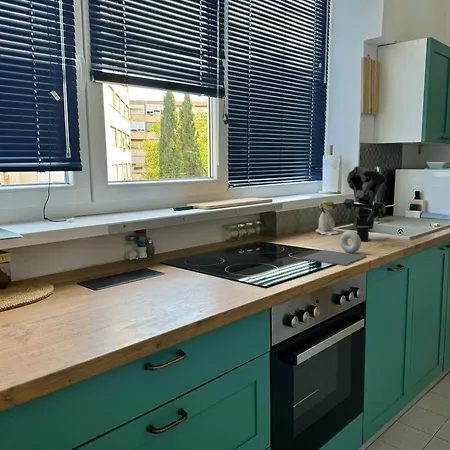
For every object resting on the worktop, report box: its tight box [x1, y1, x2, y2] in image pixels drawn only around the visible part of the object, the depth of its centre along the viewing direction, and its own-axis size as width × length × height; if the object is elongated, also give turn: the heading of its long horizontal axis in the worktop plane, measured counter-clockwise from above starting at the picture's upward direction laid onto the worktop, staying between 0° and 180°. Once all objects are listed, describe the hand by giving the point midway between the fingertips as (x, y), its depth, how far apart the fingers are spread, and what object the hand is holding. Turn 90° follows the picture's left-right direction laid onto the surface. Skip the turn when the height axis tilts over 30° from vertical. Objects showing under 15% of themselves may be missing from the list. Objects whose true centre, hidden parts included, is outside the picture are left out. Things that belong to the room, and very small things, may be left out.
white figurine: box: [315, 200, 340, 236], centre depth 247 cm, size 12×13×18 cm
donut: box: [339, 230, 362, 254], centre depth 198 cm, size 10×3×10 cm, turn 43°
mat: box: [300, 249, 367, 267], centre depth 189 cm, size 20×20×1 cm
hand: (357, 221), depth 204 cm, fingers open, 9 cm apart
